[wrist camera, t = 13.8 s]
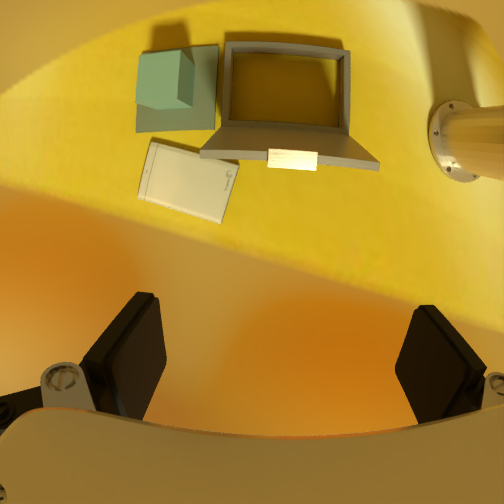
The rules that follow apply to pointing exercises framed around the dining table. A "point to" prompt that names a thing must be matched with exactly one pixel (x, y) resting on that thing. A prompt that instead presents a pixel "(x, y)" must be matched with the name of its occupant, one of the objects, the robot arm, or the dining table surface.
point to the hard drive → (187, 182)
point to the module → (165, 80)
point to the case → (287, 49)
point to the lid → (288, 148)
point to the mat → (202, 97)
